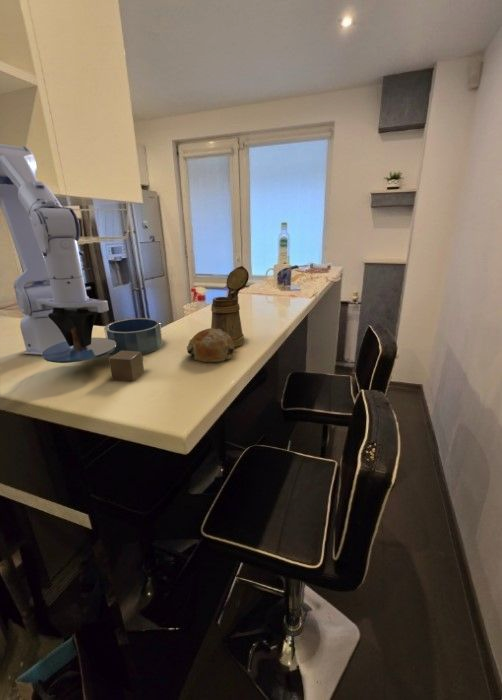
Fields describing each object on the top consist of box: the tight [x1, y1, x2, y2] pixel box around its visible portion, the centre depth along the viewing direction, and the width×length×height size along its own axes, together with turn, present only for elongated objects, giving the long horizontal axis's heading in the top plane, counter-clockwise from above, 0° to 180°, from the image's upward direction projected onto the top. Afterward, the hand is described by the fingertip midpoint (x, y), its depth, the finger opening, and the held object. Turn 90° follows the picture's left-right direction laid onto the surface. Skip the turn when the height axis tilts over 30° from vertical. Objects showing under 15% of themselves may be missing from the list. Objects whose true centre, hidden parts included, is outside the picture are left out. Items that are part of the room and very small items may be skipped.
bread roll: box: [186, 327, 235, 363], centre depth 73 cm, size 10×10×8 cm
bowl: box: [103, 317, 163, 355], centre depth 79 cm, size 13×13×6 cm
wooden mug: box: [210, 265, 250, 348], centre depth 82 cm, size 9×14×18 cm, turn 153°
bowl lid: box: [41, 328, 117, 364], centre depth 66 cm, size 14×14×5 cm
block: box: [108, 351, 145, 382], centre depth 64 cm, size 4×4×4 cm
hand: (80, 345), depth 66 cm, fingers closed on bowl lid, 2 cm apart
